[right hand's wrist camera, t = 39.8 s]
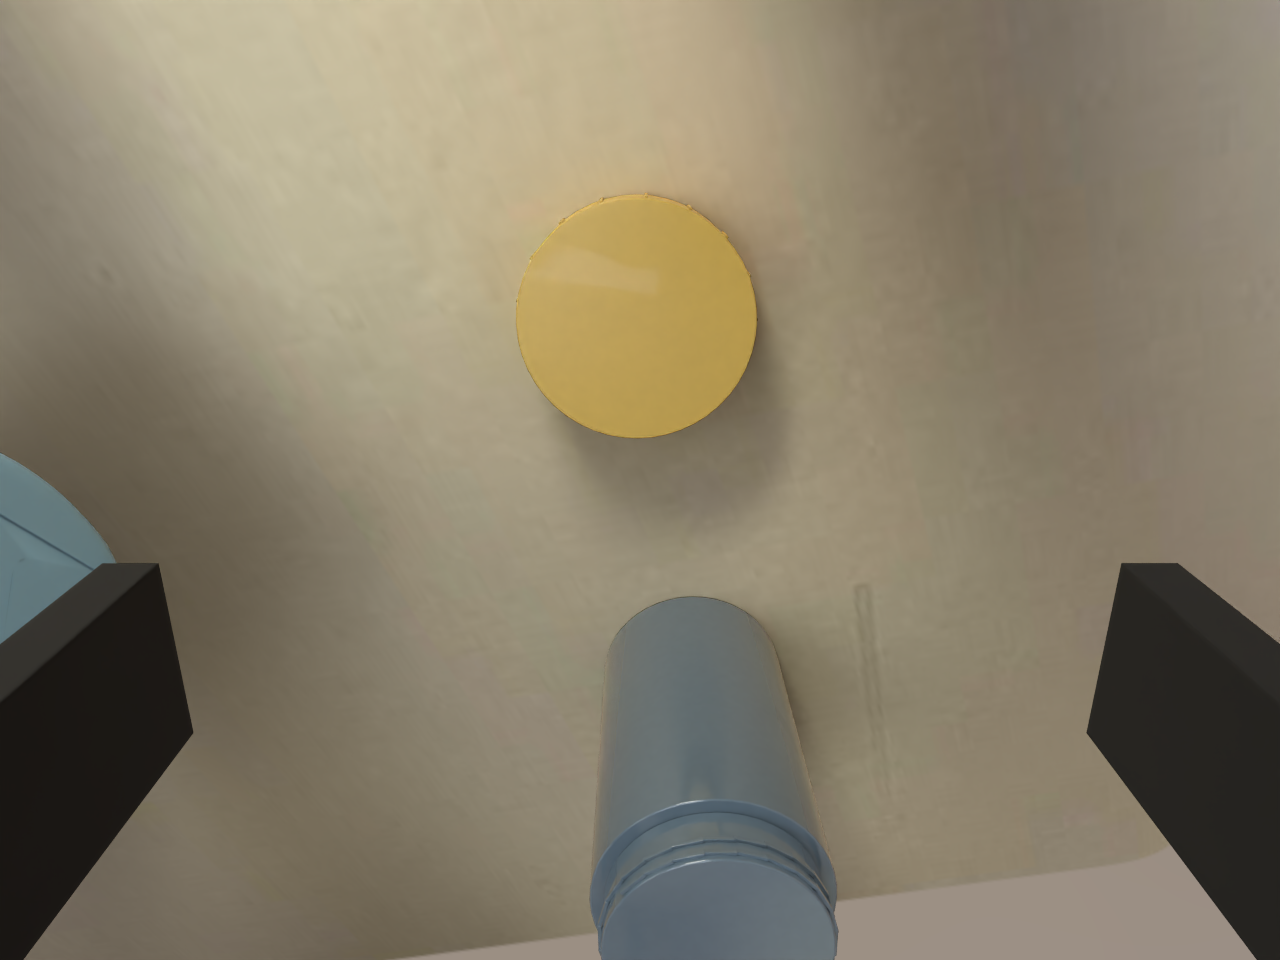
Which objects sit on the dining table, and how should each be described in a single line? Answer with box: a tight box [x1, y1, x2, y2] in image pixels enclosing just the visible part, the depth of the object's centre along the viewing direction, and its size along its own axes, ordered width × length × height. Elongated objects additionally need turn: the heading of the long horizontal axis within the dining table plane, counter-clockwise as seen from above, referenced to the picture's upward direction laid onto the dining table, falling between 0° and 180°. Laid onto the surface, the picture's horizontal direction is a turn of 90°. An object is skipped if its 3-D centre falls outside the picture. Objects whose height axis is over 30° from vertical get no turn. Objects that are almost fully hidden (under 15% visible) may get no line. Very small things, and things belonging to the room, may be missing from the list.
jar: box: [590, 597, 838, 960], centre depth 36 cm, size 8×8×16 cm
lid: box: [516, 193, 758, 438], centre depth 37 cm, size 10×10×2 cm
